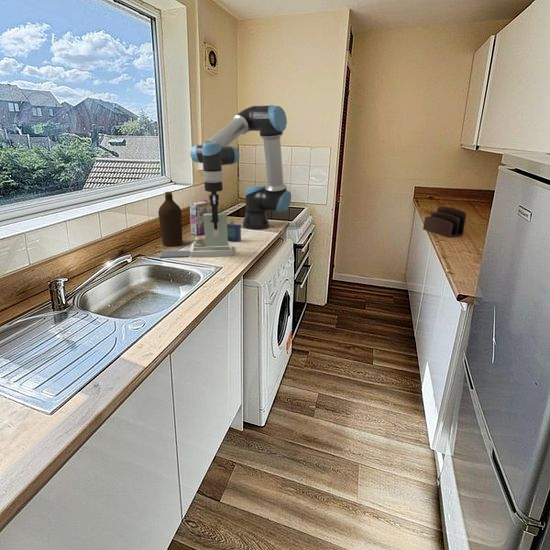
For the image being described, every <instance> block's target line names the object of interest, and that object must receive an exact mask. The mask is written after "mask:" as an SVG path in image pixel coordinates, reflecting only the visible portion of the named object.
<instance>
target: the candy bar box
mask: <svg viewBox="0 0 550 550" xmlns="http://www.w3.org/2000/svg"><path fill="white" fill-rule="evenodd" d="M203 214H211V205H210V201H198V202H193V203H189V221H190V235H192V236H201V235H205V234H204V218H203Z"/></svg>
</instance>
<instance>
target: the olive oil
mask: <svg viewBox="0 0 550 550" xmlns="http://www.w3.org/2000/svg"><path fill="white" fill-rule="evenodd" d="M173 197H174V196H173V192H172V191H165V192H164V199H165V200H163V203H162V204H161V205H160V206H159V208H158V219H159V225H160V227H159V228H160V236H161V240H162V246H164V247H177V246H182V245H183V242H184V241H183V214H182V213H183V212H182V209H181V206H180V205H179V204H178V203H176V202H175V201H174V198H173Z"/></svg>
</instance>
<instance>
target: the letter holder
mask: <svg viewBox="0 0 550 550" xmlns="http://www.w3.org/2000/svg"><path fill="white" fill-rule="evenodd" d="M466 218H467V212H466V211H463V210H462V209H458V208H454V207H450V206H441V205H439V206H438V207H437V208H436V211H432V212H431V213H430V216H425V217H424V222H423V226H422V227H423V228H422V230H424V231H427V232H431V233H434V234H438V235H441V236H444V237H448V238H450V239H451V238H458V237H463V235H464V231H465V225H466Z"/></svg>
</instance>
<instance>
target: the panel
mask: <svg viewBox="0 0 550 550" xmlns="http://www.w3.org/2000/svg"><path fill="white" fill-rule="evenodd" d="M203 218H204V234H203V235H204V237H205V246H228V242H229V241H228V234H227V222H228V216H227V212H224V213H223V212H218V220H219V221H218V222H219V236H217V237H213V226H212V222H211V221H212V213H210V214H203Z"/></svg>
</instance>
